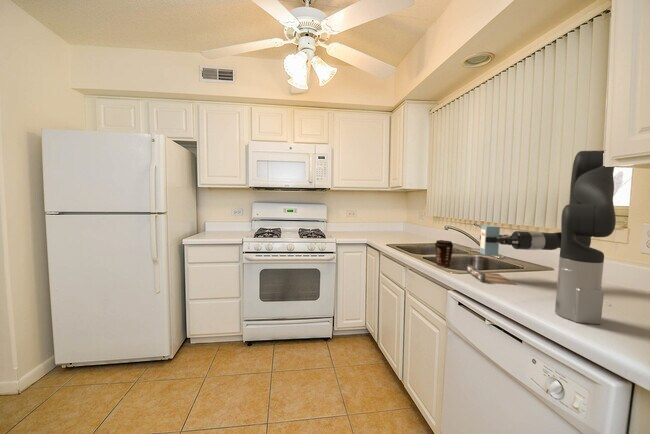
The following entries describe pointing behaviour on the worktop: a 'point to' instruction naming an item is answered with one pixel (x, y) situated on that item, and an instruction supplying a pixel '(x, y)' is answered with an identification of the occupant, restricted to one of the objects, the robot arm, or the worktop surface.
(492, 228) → the carton
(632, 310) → the worktop surface
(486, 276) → the shelf board
